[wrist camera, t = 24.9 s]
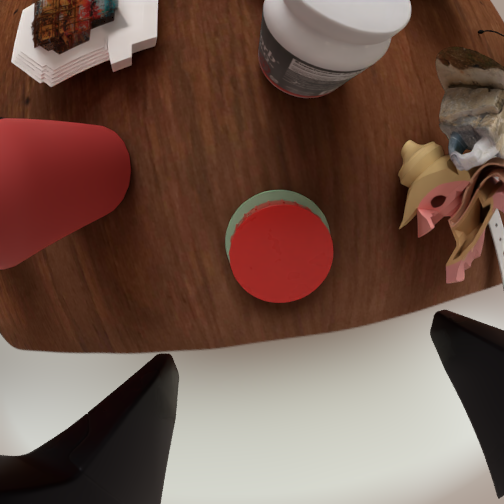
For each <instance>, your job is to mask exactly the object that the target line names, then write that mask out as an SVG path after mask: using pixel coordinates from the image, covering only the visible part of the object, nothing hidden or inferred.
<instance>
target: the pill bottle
mask: <svg viewBox="0 0 504 504" xmlns="http://www.w3.org/2000/svg"><path fill="white" fill-rule="evenodd" d="M410 17H411V4H410V0H264V4H263V13H262V24H261V33H260V42H259V51H258V57H259V63H260V67H261V69H262V71H263V73H264V75H265V76H266V78H267V79H268V80H269V81H270V82H271V83H272V84H273V85H274V86H275V87H277V88H278V89H279V90H281V91H283V92H285V93H287V94H290V95H293V96H296V97H301V98H316V97H321V96H324V95H326V94H329V93H331V92H332V91H334V90H336V89H337V88H338V87H340V86H341V85H343V84H344V83H346V82H347V81H348V80H350V79H351V78H353V77H354V76H356V75H358V74H359V73H361V72H362V71H364V70H365V69H367V68H368V67H370V66H372V65H373V64H374V63H376V62H377V61H378V60H379V59H380V58H381V57H382V56H383V55H384V54H385V53H386V51H387V50H388V47H389V45H390V42H391V37H393V36H394V35H395V34H397V33H398V32H399V31H401V30H402V29H403V28H404V27H405V26H406V25H407V23H408V22H409V19H410Z"/></svg>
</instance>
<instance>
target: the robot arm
mask: <svg viewBox="0 0 504 504" xmlns="http://www.w3.org/2000/svg"><path fill="white" fill-rule="evenodd" d="M0 119H4V118H3V117H1V118H0ZM430 335H431V338H432V341H433V343H434V345H435V347H436V349H437V352H438V354H439V356H440V359H441V361H442V364H443V366H444V368H445V370H446V372H447V374H448V376H449V378H450V380H451V382H452V384H453V386H454V388H455V390H456V392H457V394H458V396H459V398H460V400H461V402H462V404H463V406H464V408H465V410H466V413H467V415H468V417H469V419H470V421H471V423H472V426H473V428H474V430H475V433H476V435H477V438H478V440H479V442H480V445H481V448H482V450H483V453H484V456H485V459H486V462H487V465H488V467H489V470H490V473H491V477H492V480H493V483H494V486H495V490H496V493H497V496H498V498H500V497H502V496H503V495H504V330H501V329H498V328H495V327H493V326H489V325H487V324H484V323H481V322H478V321H476V320H473V319H470V318H468V317H464V316H462V315H459V314H456V313H453V312H451V311H448V310H441V311H438V312H436V313H435V315H434V319H433V323H432V327H431V331H430ZM178 382H179V374H178V370H177V368H176V365H175V363H174V360H173V358H172V356H171V355H170V354H158V355H156V356H155V357H154V358H153V359H152V360H150V361H149V362H148V363H147V364H146V365H145V366H143V367H142V368H141V369H140V370H139V371H137V372H136V373H135V374H134V375H133V376H131V377H130V378H129V379H128V380H127V381H125V382H124V383H123V384H122V385H121V386H119V387H118V388H117V389H116V390H115V391H113V392H112V393H111V394H110V395H109V396H107V397H106V398H105V399H104V400H103V401H101V402H100V403H99V404H98V405H97V406H95V407H94V408H93V409H92V410H90V411H89V412H88V414H85V415H84V416H83V417H82V418H81V419H79V420H78V421H77V422H75V423H74V424H73V425H72V426H70V427H69V428H68V429H66V430H65V431H63V432H62V433H60V434H59V435H57V436H56V437H54V438H53V439H52V440H50V441H48V442H47V443H45V444H43V445H42V446H40V447H39V448H37V449H35V450H34V451H32V452H30V453H28V454H26V455H21V456H4V455H3V456H2V455H0V504H160V503H161V497H162V491H163V485H164V478H165V472H166V467H167V461H168V455H169V450H170V445H171V439H172V433H173V429H174V423H175V418H176V408H177V395H178Z"/></svg>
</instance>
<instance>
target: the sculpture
mask: <svg viewBox="0 0 504 504" xmlns="http://www.w3.org/2000/svg"><path fill="white" fill-rule="evenodd" d="M436 70H437V74H438V77H439V80H440V82H441V85H442V87H443V89H444V90H445V94H444V97H443V99H442V103H441V110H440V114H439V118H440V119H439V122H440V124H439V126H440V129H441V130H442V132H443V133H445V134H446V135H447V138H448V139H449V146H448V149H449V155H450V158H451V160H452V162H453V163H454V165H455V167H456V168H457V169H458V170H460V171H462V170H466V171H468V170H469V169H471V168H473V167H475V166H479V165H482V164H484V163H485V162H487V161H488V160H490V159H491V158H493V157H494V156H497V157H499V158H502V159H504V67H503V66H501V65H500V64H498V63H497V62H495V61H494V60H493V59H491V58H489V57H487V56H485V55H482V54H480V53H478V52H476V51H473V50H470V49H466V48H463V47H449V48H446V49H444V50H442V51H441V52H440V53H439V54H438V55H437V59H436ZM465 149H467V150H472V151H471V152H470V153H466V154H463V152H464V151H465Z"/></svg>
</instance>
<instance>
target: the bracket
mask: <svg viewBox="0 0 504 504" xmlns="http://www.w3.org/2000/svg"><path fill="white" fill-rule="evenodd" d="M495 157H497V156H494V157H493V158H495ZM491 159H492V158H491ZM494 178H495V179H496V180H498V177H494ZM495 224H496V225H497V226H495ZM488 225H489V228H490V232H491V235H492V239H493V242H494V246H495V250H496V254H497V258H498V263H499V267H500V272H501V277H502V283H503V289H504V255H503V252H504V228H503V224H502V221H501V217H500V214H499V211H498V209H497V208H496V210H495V212H494V214H493V216H492V218H491V219H490V221H489V223H488ZM499 239H500V241H499Z"/></svg>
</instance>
